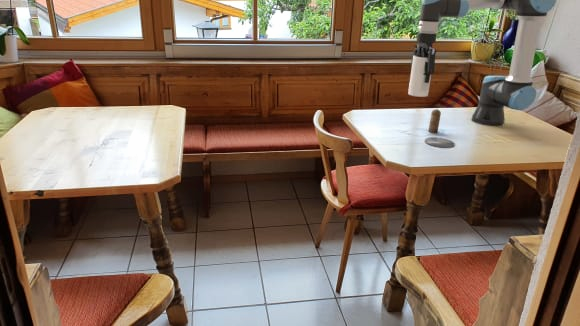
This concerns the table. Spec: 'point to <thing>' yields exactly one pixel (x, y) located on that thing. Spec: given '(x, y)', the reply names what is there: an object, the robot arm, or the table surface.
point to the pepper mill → (434, 121)
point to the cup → (417, 77)
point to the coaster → (439, 142)
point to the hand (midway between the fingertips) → (419, 87)
